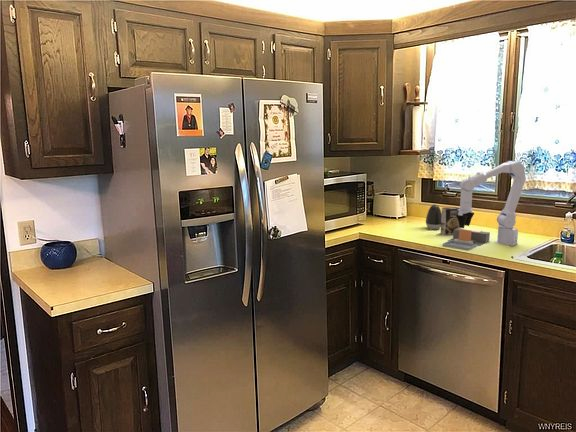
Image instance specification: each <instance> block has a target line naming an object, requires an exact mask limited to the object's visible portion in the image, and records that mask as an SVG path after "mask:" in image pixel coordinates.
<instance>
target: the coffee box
mask: <svg viewBox="0 0 576 432" xmlns="http://www.w3.org/2000/svg"><path fill="white" fill-rule="evenodd" d="M458 209H460V207H456V206H455V207H454V206H452V207H451V206H450V207H449V206H448V207H442V208H441V213H442V216H441V227H440V234H441V235H443V236H454V229H456V228H460V227H459V222H458V219H457V217H456V215H457V214H458V212H459V211H458Z"/></svg>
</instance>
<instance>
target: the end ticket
mask: <svg viewBox="0 0 576 432" xmlns="http://www.w3.org/2000/svg"><path fill="white" fill-rule="evenodd" d="M464 229H465V228H461V229H459V240H465V241H471V230H464Z"/></svg>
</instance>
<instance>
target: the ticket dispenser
mask: <svg viewBox="0 0 576 432" xmlns="http://www.w3.org/2000/svg"><path fill="white" fill-rule="evenodd" d="M459 229H462V228H456V229H454V235H452V236H453V238H451V239H448V240H447V242H448V241H450V240H453V241H459V242H466V243H472V244H477V247H482V246H483V245H485V244H487V243H489V242H490V237H491V236H490V235H491V234H490V233H491V232H489V231H482V230H480V229H479V230H477V229H471V228H463V229H464V230H471V241H465V240H459Z"/></svg>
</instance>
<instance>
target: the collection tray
mask: <svg viewBox="0 0 576 432" xmlns="http://www.w3.org/2000/svg"><path fill="white" fill-rule="evenodd" d="M449 240H450V239H449ZM442 247H447V248H451V249H453V248H454V249H457V250H463V251H470V250H472V249H474V248H476V247H478V246H477V244H472V243H466V242H459V241H453V240H450V241H448V240H447V241H446V242H443V243H442Z"/></svg>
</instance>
